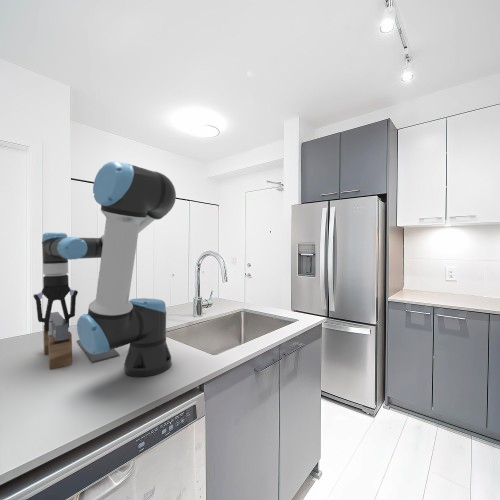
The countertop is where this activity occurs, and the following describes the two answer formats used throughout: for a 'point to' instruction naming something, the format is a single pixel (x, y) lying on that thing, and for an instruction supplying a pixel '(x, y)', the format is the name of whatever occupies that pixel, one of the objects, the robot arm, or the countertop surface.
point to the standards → (58, 350)
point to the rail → (59, 327)
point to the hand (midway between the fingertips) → (57, 338)
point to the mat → (99, 356)
